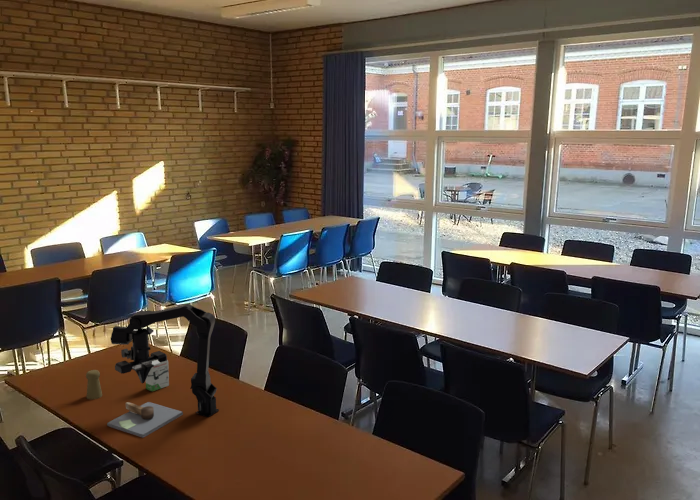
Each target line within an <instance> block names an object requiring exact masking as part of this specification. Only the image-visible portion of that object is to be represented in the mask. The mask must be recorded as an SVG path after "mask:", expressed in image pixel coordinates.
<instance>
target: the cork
mask: <svg viewBox="0 0 700 500" xmlns="http://www.w3.org/2000/svg"><path fill="white" fill-rule="evenodd" d="M100 374H101V373H100V371H99V370H98V369H92V370H89V371H86V373H85V377H86V380H87V385H86V386H87V388H86V399H87V400H97V399H101V398H102V397H103V393H102V392H103V391H102V388H101V387H102V386H101V383H100V376H101V375H100Z"/></svg>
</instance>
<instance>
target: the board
mask: <svg viewBox="0 0 700 500" xmlns="http://www.w3.org/2000/svg"><path fill="white" fill-rule="evenodd" d="M140 406H141V407H147V406H151V407H153V408H154V417H152V418H150V419H143V418H142V417H141V415H139V414H137V413H134V412H131V411H129V410H128V412H126V413H123V414H122V415H120V416H118V417H115V418H113V420H110V421H109V422H107V427H110V428H112V429H116V430H118V431H122V432H124V433H128V434H131V435H134V436H137V437H140V438H145V437H147V436H149V435H150V434H152V433H154V432H156V431H157V430H159V429H160V428H163V427H165V426H166V425H168V424H169V423H171V422H173V421H174V420H176V419H178V418H180V417H181V416H184V413H183V410H182V411H181V410H178V409H174V408H171V407H167V406H164V405H161V404H158V403H153V402H151V401H147V402H145V403H142V404H141V405H140Z"/></svg>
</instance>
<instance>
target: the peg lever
mask: <svg viewBox="0 0 700 500" xmlns="http://www.w3.org/2000/svg"><path fill="white" fill-rule="evenodd" d="M125 409H126V410H128V412H129V411H131V412H134V413H137V414H139V415H141V417H142V418H143V419H150V418H152V417H154V408H153V407H151V406H147V407H141V405H139V404H138V405H137V404H135V403H132V402H129V401H128V402H125Z"/></svg>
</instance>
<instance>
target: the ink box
mask: <svg viewBox="0 0 700 500" xmlns="http://www.w3.org/2000/svg"><path fill="white" fill-rule="evenodd" d="M152 364H153V365H154V367H152V368H151V370H150V372H149V373H148V376H147V378H146V380H145V389H146V390H148V391H150V392H155V391H157V390H158V391H159V390H160V389H164V388H165V387H166V388H167V387H168V386H170V380H169V379H170V377H169V372H170V371H169V360H168V359H167V361H164V362H159V361H158V360H154V361H152Z"/></svg>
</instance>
